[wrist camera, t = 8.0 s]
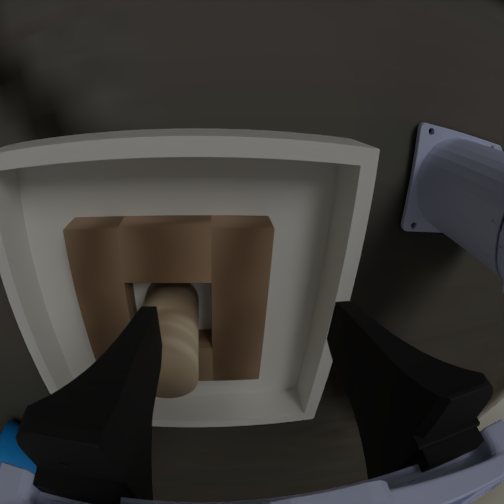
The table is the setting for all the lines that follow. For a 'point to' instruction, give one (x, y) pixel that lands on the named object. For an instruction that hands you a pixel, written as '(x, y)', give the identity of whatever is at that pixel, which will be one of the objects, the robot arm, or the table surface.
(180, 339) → the peg
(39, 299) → the tray
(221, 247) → the bore plate
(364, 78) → the table surface
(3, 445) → the alarm clock
